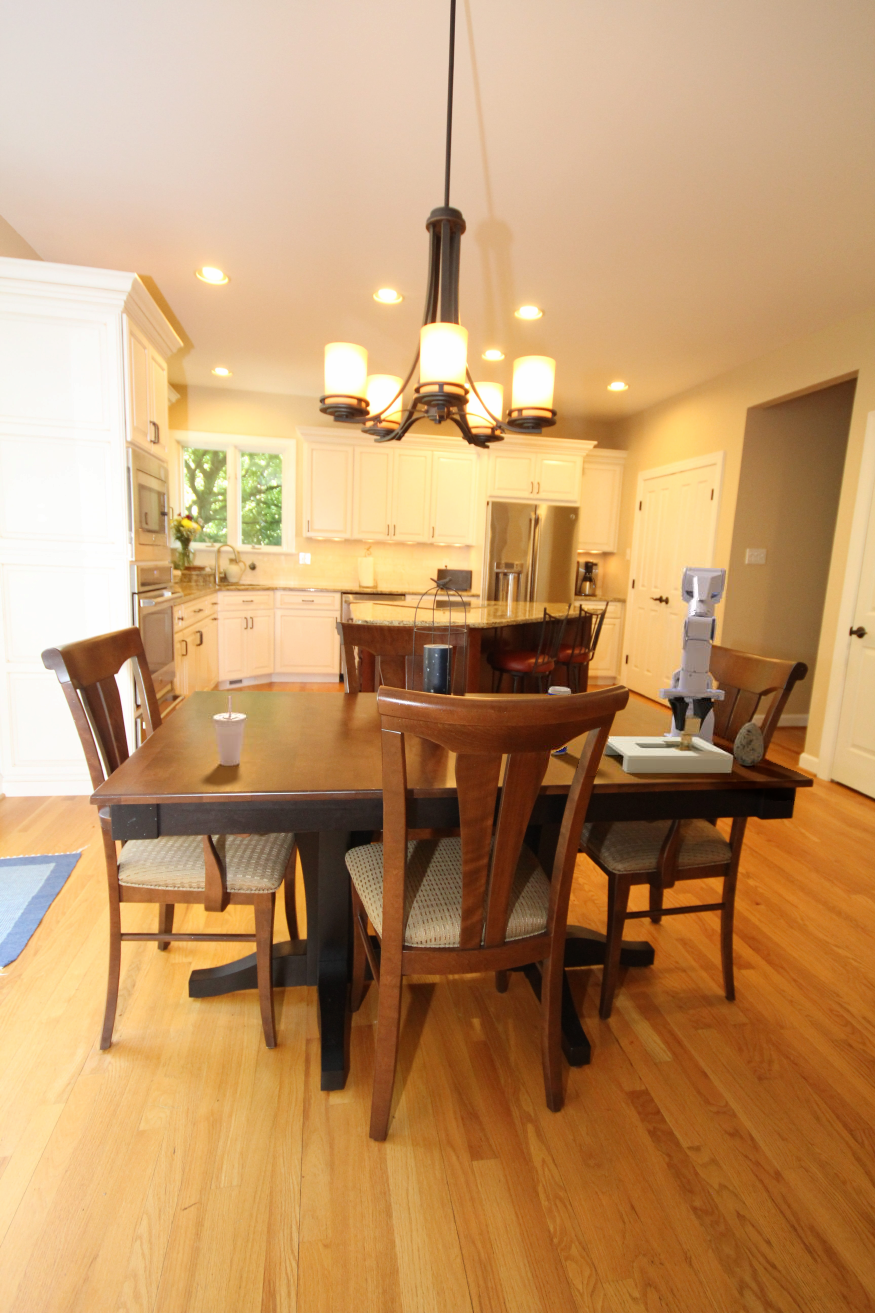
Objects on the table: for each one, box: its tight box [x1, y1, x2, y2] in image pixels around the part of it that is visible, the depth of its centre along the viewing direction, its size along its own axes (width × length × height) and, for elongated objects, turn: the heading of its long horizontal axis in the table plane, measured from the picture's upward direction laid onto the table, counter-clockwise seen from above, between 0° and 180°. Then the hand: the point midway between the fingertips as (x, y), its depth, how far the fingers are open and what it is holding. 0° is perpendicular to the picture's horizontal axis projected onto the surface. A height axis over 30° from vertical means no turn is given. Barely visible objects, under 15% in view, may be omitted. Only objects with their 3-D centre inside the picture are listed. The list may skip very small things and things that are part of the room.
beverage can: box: [547, 686, 572, 756], centre depth 139 cm, size 5×5×15 cm
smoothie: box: [212, 695, 247, 767], centre depth 122 cm, size 6×6×14 cm
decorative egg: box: [733, 721, 765, 767], centre depth 137 cm, size 6×6×10 cm
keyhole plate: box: [604, 735, 734, 774], centre depth 136 cm, size 24×14×4 cm, turn 98°
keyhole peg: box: [671, 714, 701, 751], centre depth 137 cm, size 6×6×9 cm
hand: (687, 730), depth 136 cm, fingers closed on keyhole peg, 3 cm apart
